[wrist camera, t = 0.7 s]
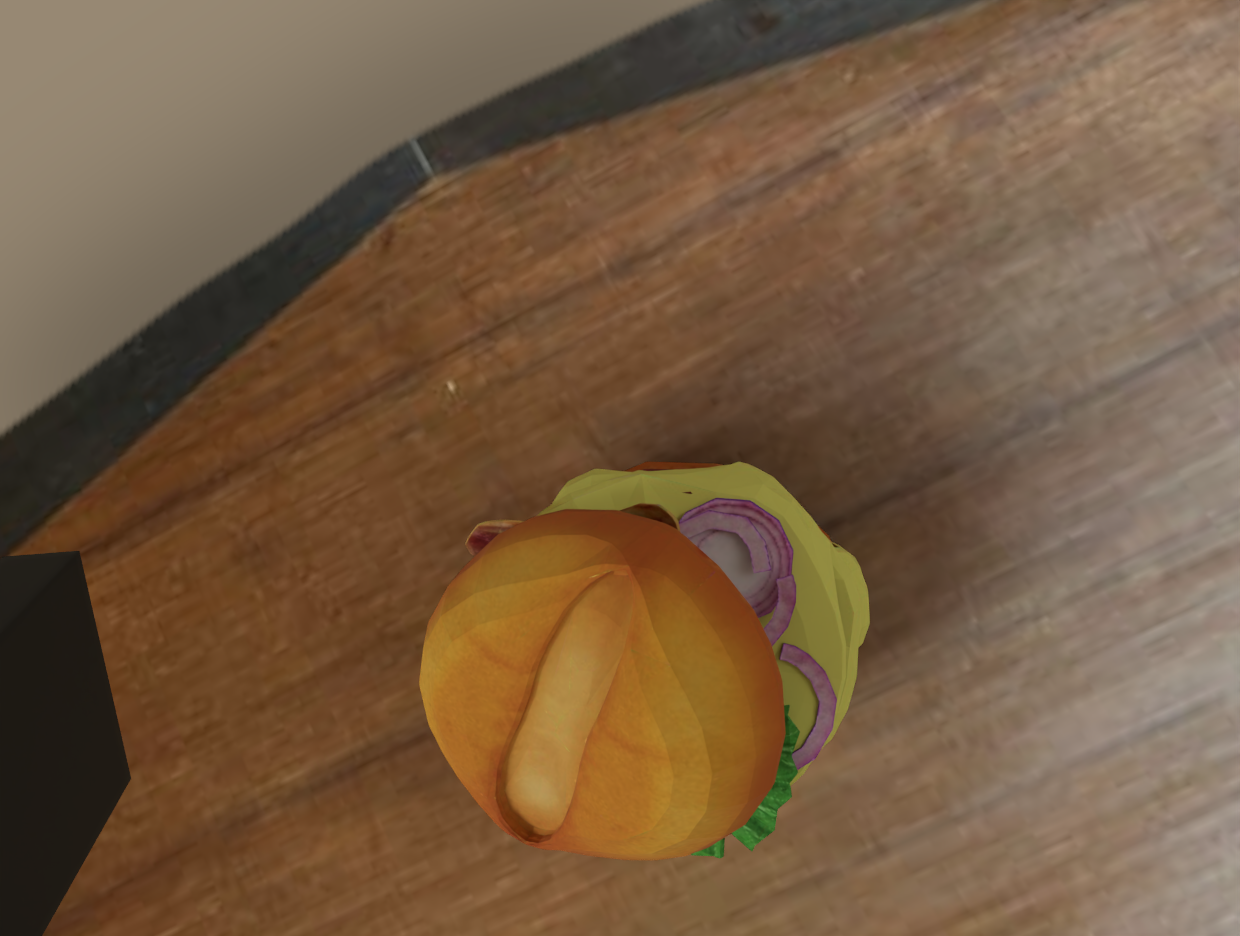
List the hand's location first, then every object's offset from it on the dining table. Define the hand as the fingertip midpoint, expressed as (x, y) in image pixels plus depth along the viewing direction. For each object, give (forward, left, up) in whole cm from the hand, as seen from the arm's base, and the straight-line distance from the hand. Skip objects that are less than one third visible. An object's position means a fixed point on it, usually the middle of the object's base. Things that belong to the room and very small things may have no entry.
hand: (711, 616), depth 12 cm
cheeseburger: (+6, +1, -20) cm, 21 cm away
